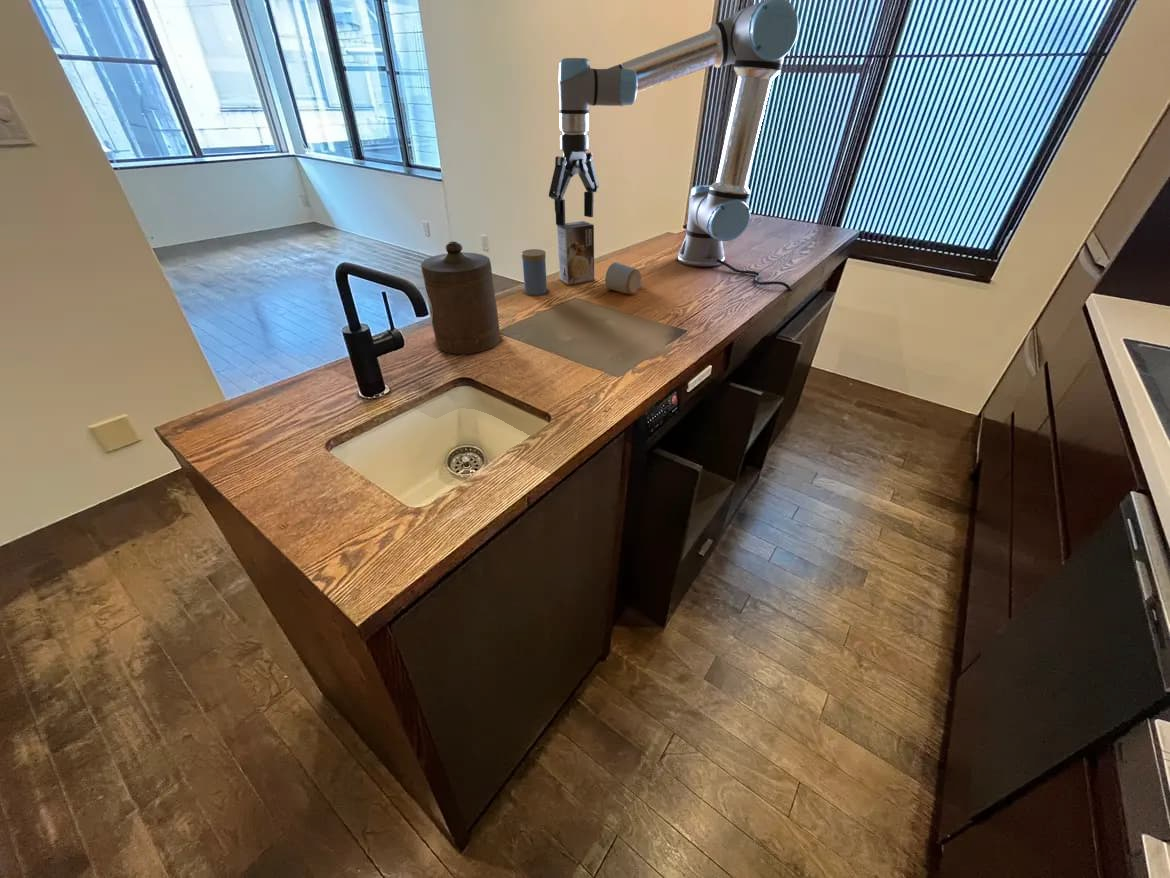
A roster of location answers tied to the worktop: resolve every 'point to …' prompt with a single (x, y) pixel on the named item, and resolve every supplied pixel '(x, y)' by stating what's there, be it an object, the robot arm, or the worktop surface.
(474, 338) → the wooden container
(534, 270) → the tea tin
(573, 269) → the coffee box
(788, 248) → the worktop surface
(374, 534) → the worktop surface
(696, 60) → the robot arm
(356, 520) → the worktop surface
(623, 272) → the ceramic mug
